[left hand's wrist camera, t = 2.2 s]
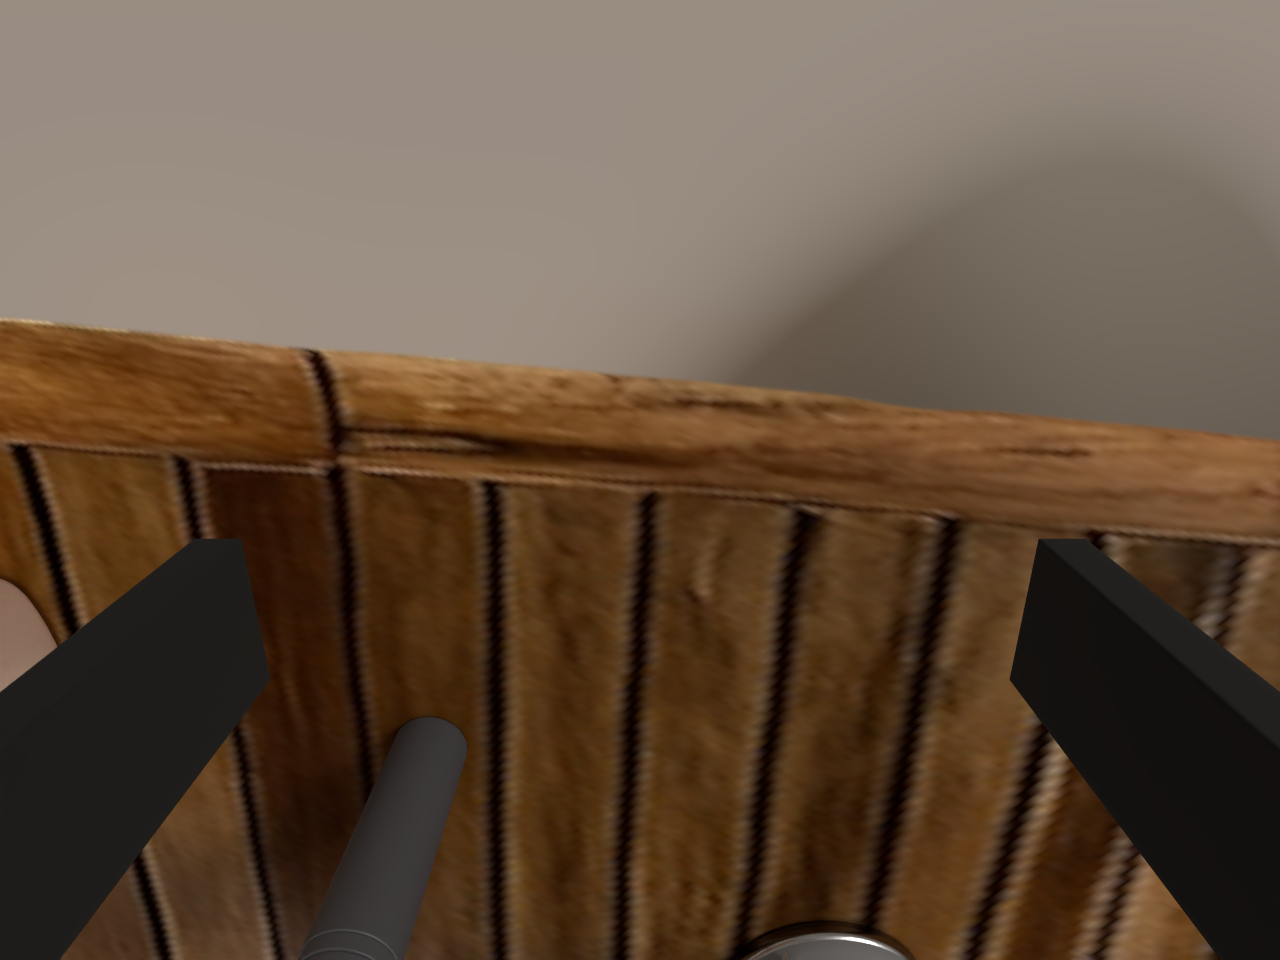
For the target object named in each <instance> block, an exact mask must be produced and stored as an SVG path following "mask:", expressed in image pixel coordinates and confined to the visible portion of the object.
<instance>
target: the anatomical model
mask: <svg viewBox="0 0 1280 960" xmlns="http://www.w3.org/2000/svg"><path fill="white" fill-rule="evenodd" d="M55 648H57V645H56V642H55V640H54V639H53V637H52V635H51V633H50V631H49V629H48V627H47V626H46V624H45V622H44V621H43V619H42V617H41V616H40V614H39V612H38V611H37V610H36V608H35V607H34V606H33V604H32V603H31V601H30V600H29V599H28V597H27V596H26V595H25V594H24V593H23V592H22V591H21V590H20V589H18V588H17V587H16V586H14V585H13V584H11V583H9V582H7V581H4V580H2V579H0V692H1V691H2V690H3V689H5V688H6V687H7V686H8V685H10V684H11V683H12V682H13V681H15V680H16V679H17V678H19V677H20V676H21V675H22V674H24V673H25V672H26V671H27V670H29V669H30V668H31V667H33V666H34V665H35V664H36V663H38V662H39V661H40V660H41V659H43V658H44V657H45V656H47V655H48V654H49V653H50V652H52V651H53V650H54V649H55Z"/></svg>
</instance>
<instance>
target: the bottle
mask: <svg viewBox="0 0 1280 960" xmlns="http://www.w3.org/2000/svg"><path fill="white" fill-rule="evenodd" d="M466 755H467V743H466V740H465V738H464V736H463V734H462V733H461V731H460V730H459V729H458V728H457V727H455V726H454V725H453V724H451V723H450V722H448V721H446V720H443V719H440V718H435V717H421V718H417V719H413V720H411V721H409V722H408V723H406V724H405V725H403V726H402V727H401V728H400V730H399V731H398V733H397V735H396V737H395V740H394V742H393V744H392V746H391V749H390V751H389V753H388V755H387V758H386V760H385V762H384V764H383V767H382V769H381V771H380V773H379V776H378V778H377V780H376V782H375V785H374V787H373V789H372V791H371V793H370V796H369V798H368V800H367V802H366V805H365V807H364V809H363V811H362V814H361V816H360V818H359V820H358V823H357V825H356V827H355V829H354V832H353V834H352V836H351V838H350V841H349V843H348V845H347V847H346V850H345V852H344V854H343V856H342V859H341V861H340V863H339V865H338V868H337V870H336V872H335V874H334V877H333V879H332V881H331V883H330V885H329V888H328V890H327V892H326V894H325V897H324V899H323V901H322V903H321V906H320V908H319V910H318V912H317V915H316V917H315V919H314V921H313V924H312V926H311V928H310V930H309V933H308V935H307V937H306V939H305V942H304V944H303V946H302V948H301V951H300V954H299V959H298V960H404V957H405V954H406V951H407V948H408V944H409V941H410V938H411V934H412V931H413V928H414V925H415V921H416V918H417V915H418V912H419V908H420V905H421V902H422V899H423V895H424V892H425V889H426V886H427V882H428V879H429V876H430V872H431V869H432V866H433V863H434V859H435V856H436V853H437V850H438V846H439V843H440V840H441V837H442V833H443V830H444V827H445V824H446V820H447V817H448V814H449V810H450V807H451V804H452V801H453V797H454V794H455V791H456V788H457V784H458V781H459V778H460V775H461V771H462V768H463V765H464V762H465V758H466Z"/></svg>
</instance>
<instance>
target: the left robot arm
mask: <svg viewBox="0 0 1280 960" xmlns="http://www.w3.org/2000/svg"><path fill="white" fill-rule="evenodd" d="M269 681H270V675H269V671H268V666H267V661H266V656H265V651H264V646H263V642H262V637H261V632H260V627H259V622H258V617H257V613H256V608H255V603H254V598H253V593H252V588H251V584H250V579H249V574H248V569H247V564H246V559H245V555H244V550H243V545H242V540H241V539H194V540H193V541H192V542H190V543H189V544H188V545H186V546H185V547H184V548H183V549H181V550H180V551H179V552H178V553H176V554H175V555H174V556H172V557H171V558H170V559H169V560H167V561H166V562H165V563H164V564H162V565H161V566H160V567H158V568H157V569H156V570H155V571H153V572H152V573H151V574H150V575H148V576H147V577H146V578H144V579H143V580H142V581H141V582H139V583H138V584H137V585H136V586H134V587H133V588H132V589H130V590H129V591H128V592H127V593H125V594H124V595H123V596H122V597H120V598H119V599H118V600H116V601H115V602H114V603H113V604H111V605H110V606H109V607H108V608H106V609H105V610H104V611H102V612H101V613H100V614H99V615H97V616H96V617H95V618H94V619H92V620H91V621H90V622H88V623H87V624H86V625H85V626H83V627H82V628H81V629H80V630H78V631H77V632H76V633H75V634H73V635H72V636H71V637H69V638H68V639H67V640H66V641H64V642H63V643H62V644H61V645H59V646H58V647H57V648H55V649H54V650H53V651H52V652H50V653H49V654H48V655H47V656H45V657H44V658H43V659H41V660H40V661H39V662H38V663H36V664H35V665H34V666H33V667H31V668H30V669H29V670H27V671H26V672H25V673H24V674H22V675H21V676H20V677H19V678H17V679H16V680H15V681H13V682H12V683H11V684H10V685H8V686H7V687H6V688H5V689H3V690H2V691H1V692H0V960H60V958H61V957H62V956H63V954H64V953H65V952H66V950H67V949H68V948H69V946H70V945H71V944H72V942H73V941H74V940H75V938H76V937H77V936H78V934H79V933H80V932H81V930H82V929H83V928H84V927H85V925H86V924H87V923H88V921H89V920H90V919H91V917H92V916H93V915H94V913H95V912H96V911H97V909H98V908H99V907H100V905H101V904H102V903H103V901H104V900H105V899H106V897H107V896H108V895H109V893H110V892H111V891H112V889H113V888H114V887H115V885H116V884H117V883H118V881H119V880H120V879H121V877H122V876H123V875H124V873H125V872H126V871H127V869H128V868H129V867H130V865H131V864H132V863H133V861H134V860H135V859H136V857H137V856H138V855H139V853H140V852H141V851H142V849H143V848H144V847H145V846H146V844H147V843H148V842H149V840H150V839H151V838H152V836H153V835H154V834H155V832H156V831H157V830H158V828H159V827H160V826H161V824H162V823H163V822H164V820H165V819H166V818H167V816H168V815H169V814H170V812H171V811H172V810H173V808H174V807H175V806H176V804H177V803H178V802H179V800H180V799H181V798H182V796H183V795H184V794H185V792H186V791H187V790H188V788H189V787H190V786H191V784H192V783H193V782H194V780H195V779H196V778H197V776H198V775H199V774H200V772H201V771H202V770H203V768H204V767H205V766H206V765H207V763H208V762H209V761H210V759H211V758H212V757H213V755H214V754H215V753H216V751H217V750H218V749H219V747H220V746H221V745H222V743H223V742H224V741H225V739H226V738H227V737H228V735H229V734H230V733H231V731H232V730H233V729H234V727H235V726H236V725H237V723H238V722H239V721H240V719H241V718H242V717H243V715H244V714H245V713H246V711H247V710H248V709H249V707H250V706H251V705H252V703H253V702H254V701H255V699H256V698H257V697H258V695H259V694H260V693H261V691H262V690H263V689H264V687H265V686H266V685H267V683H268V682H269ZM1010 681H1011V682H1012V684H1013V685H1014V686H1015V687H1016V689H1017V690H1018V691H1019V693H1020V694H1021V695H1022V697H1023V698H1024V699H1025V701H1026V702H1027V703H1028V705H1029V706H1030V707H1031V709H1032V710H1033V711H1034V713H1035V714H1036V715H1037V717H1038V718H1039V719H1040V721H1041V722H1042V723H1043V725H1044V726H1045V727H1046V729H1047V730H1048V731H1049V733H1050V734H1051V735H1052V737H1053V738H1054V739H1055V741H1056V742H1057V743H1058V745H1059V746H1060V747H1061V749H1062V750H1063V751H1064V753H1065V754H1066V755H1067V757H1068V758H1069V759H1070V761H1071V762H1072V763H1073V765H1074V766H1075V767H1076V768H1077V770H1078V771H1079V772H1080V774H1081V775H1082V776H1083V778H1084V779H1085V780H1086V782H1087V783H1088V784H1089V786H1090V787H1091V788H1092V790H1093V791H1094V792H1095V794H1096V795H1097V796H1098V798H1099V799H1100V800H1101V802H1102V803H1103V804H1104V806H1105V807H1106V808H1107V810H1108V811H1109V812H1110V814H1111V815H1112V816H1113V818H1114V819H1115V820H1116V822H1117V823H1118V824H1119V826H1120V827H1121V828H1122V830H1123V831H1124V832H1125V834H1126V835H1127V836H1128V838H1129V839H1130V840H1131V842H1132V843H1133V844H1134V846H1135V847H1136V848H1137V849H1138V851H1139V852H1140V853H1141V855H1142V856H1143V857H1144V859H1145V860H1146V861H1147V863H1148V864H1149V865H1150V867H1151V868H1152V869H1153V871H1154V872H1155V873H1156V875H1157V876H1158V877H1159V879H1160V880H1161V881H1162V883H1163V884H1164V885H1165V887H1166V888H1167V889H1168V891H1169V892H1170V893H1171V895H1172V896H1173V897H1174V899H1175V900H1176V901H1177V903H1178V904H1179V905H1180V907H1181V908H1182V909H1183V911H1184V912H1185V913H1186V915H1187V916H1188V917H1189V919H1190V920H1191V921H1192V923H1193V924H1194V925H1195V927H1196V928H1197V929H1198V930H1199V932H1200V933H1201V934H1202V936H1203V937H1204V938H1205V940H1206V941H1207V942H1208V944H1209V945H1210V946H1211V948H1212V949H1213V950H1214V952H1215V953H1216V954H1217V956H1218V957H1219V958H1220V960H1280V692H1279V691H1278V690H1277V689H1275V688H1274V687H1273V686H1272V685H1270V684H1269V683H1268V682H1267V681H1265V680H1264V679H1263V678H1261V677H1260V676H1259V675H1258V674H1256V673H1255V672H1254V671H1253V670H1251V669H1250V668H1249V667H1247V666H1246V665H1245V664H1244V663H1242V662H1241V661H1240V660H1239V659H1237V658H1236V657H1235V656H1233V655H1232V654H1231V653H1230V652H1228V651H1227V650H1226V649H1225V648H1223V647H1222V646H1221V645H1219V644H1218V643H1217V642H1216V641H1214V640H1213V639H1212V638H1211V637H1209V636H1208V635H1207V634H1205V633H1204V632H1203V631H1202V630H1200V629H1199V628H1198V627H1197V626H1195V625H1194V624H1193V623H1192V622H1190V621H1189V620H1188V619H1186V618H1185V617H1184V616H1183V615H1181V614H1180V613H1179V612H1178V611H1176V610H1175V609H1174V608H1172V607H1171V606H1170V605H1169V604H1167V603H1166V602H1165V601H1164V600H1162V599H1161V598H1160V597H1158V596H1157V595H1156V594H1155V593H1153V592H1152V591H1151V590H1150V589H1148V588H1147V587H1146V586H1144V585H1143V584H1142V583H1141V582H1139V581H1138V580H1137V579H1136V578H1134V577H1133V576H1132V575H1130V574H1129V573H1128V572H1127V571H1125V570H1124V569H1123V568H1122V567H1120V566H1119V565H1118V564H1116V563H1115V562H1114V561H1113V560H1111V559H1110V558H1109V557H1108V556H1106V555H1105V554H1104V553H1102V552H1101V551H1100V550H1099V549H1097V548H1096V547H1095V546H1094V545H1092V544H1091V543H1090V542H1088V541H1087V540H1086V539H1039V540H1038V545H1037V550H1036V555H1035V559H1034V564H1033V569H1032V574H1031V579H1030V584H1029V588H1028V593H1027V598H1026V603H1025V608H1024V613H1023V617H1022V622H1021V627H1020V632H1019V637H1018V642H1017V646H1016V651H1015V656H1014V661H1013V666H1012V671H1011V675H1010ZM734 960H916V959H915V958H914V956H913V955H912V954H911V953H910V952H909V950H908V949H907V948H906V947H904V946H903V945H902V944H901V943H900V942H898V941H897V940H895V939H894V938H892V937H891V936H889V935H887V934H885V933H883V932H881V931H878V930H876V929H873V928H870V927H866V926H863V925H858V924H853V923H846V922H830V921H828V922H812V923H805V924H799V925H795V926H791V927H787V928H784V929H781V930H778V931H775V932H773V933H771V934H768V935H766V936H764V937H762V938H760V939H759V940H757V941H755V942H754V943H752V944H751V945H749V946H748V947H747V948H745V949H744V950H743V951H742V952H741V953H739V954H738V955H737V956H736V957H735V958H734Z"/></svg>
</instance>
